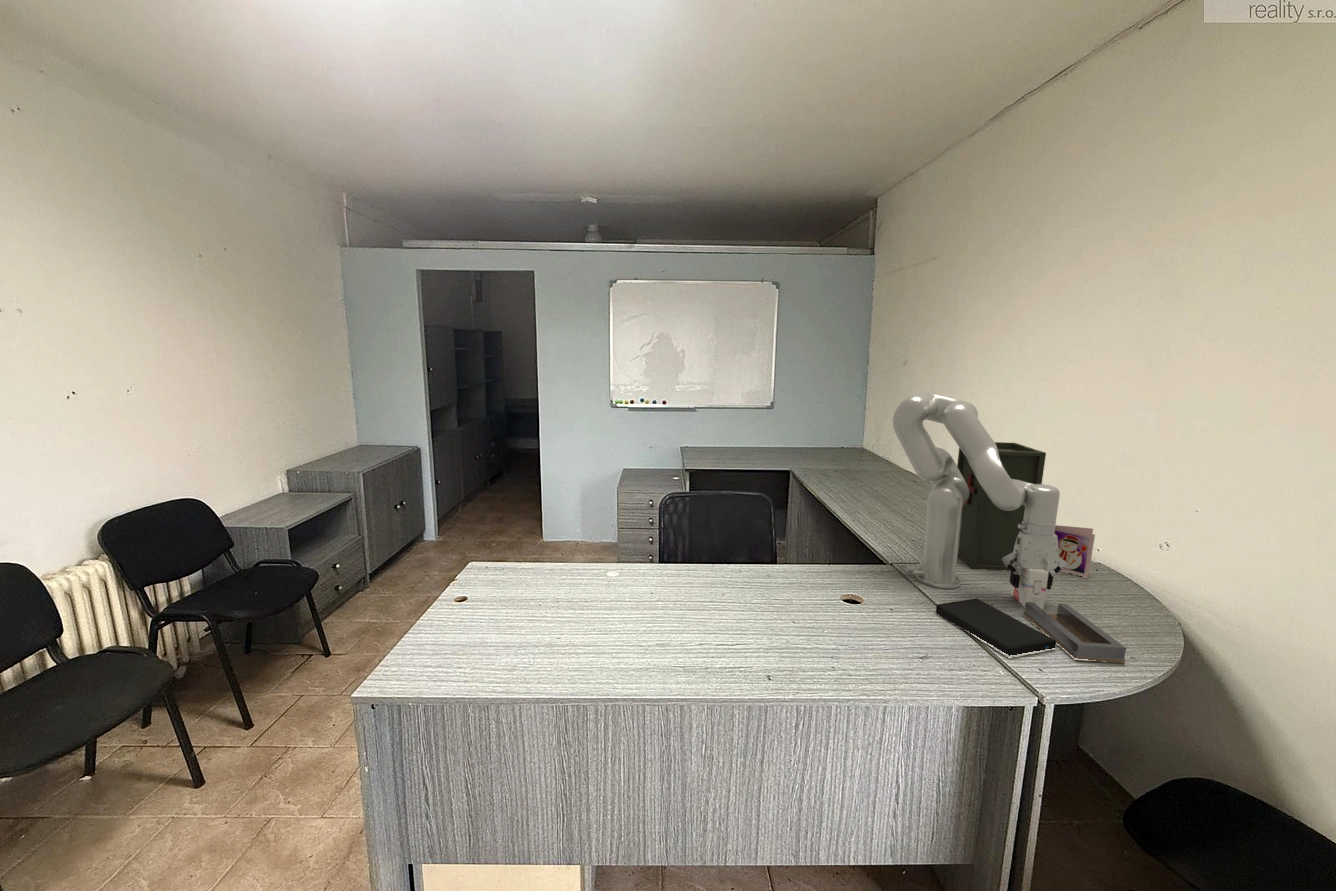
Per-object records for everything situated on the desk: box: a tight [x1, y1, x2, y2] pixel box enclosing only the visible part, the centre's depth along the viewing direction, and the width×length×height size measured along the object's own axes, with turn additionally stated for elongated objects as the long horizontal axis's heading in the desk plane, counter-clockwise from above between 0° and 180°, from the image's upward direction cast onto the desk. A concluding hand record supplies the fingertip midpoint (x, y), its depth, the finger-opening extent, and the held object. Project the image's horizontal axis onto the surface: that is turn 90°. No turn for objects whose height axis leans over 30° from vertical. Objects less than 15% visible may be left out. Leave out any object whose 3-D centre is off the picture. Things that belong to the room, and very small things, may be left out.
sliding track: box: [1022, 602, 1127, 664], centre depth 137 cm, size 11×22×4 cm, turn 175°
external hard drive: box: [935, 598, 1057, 656], centre depth 141 cm, size 14×23×3 cm, turn 17°
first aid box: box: [956, 441, 1047, 571], centre depth 185 cm, size 18×18×40 cm
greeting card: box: [1054, 524, 1096, 579], centre depth 178 cm, size 11×7×15 cm, turn 39°
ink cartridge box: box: [1012, 559, 1049, 610], centre depth 155 cm, size 9×5×15 cm, turn 168°
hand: (1030, 586), depth 155 cm, fingers open, 8 cm apart
